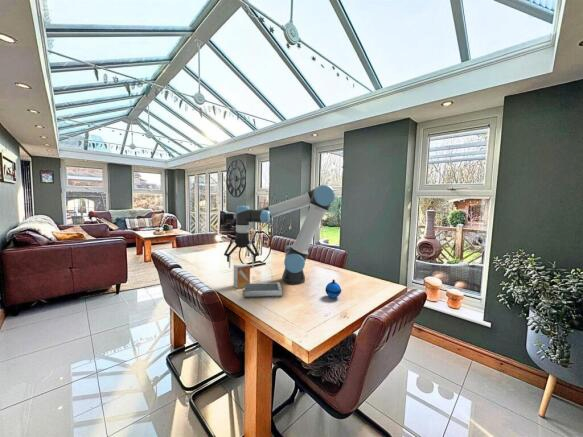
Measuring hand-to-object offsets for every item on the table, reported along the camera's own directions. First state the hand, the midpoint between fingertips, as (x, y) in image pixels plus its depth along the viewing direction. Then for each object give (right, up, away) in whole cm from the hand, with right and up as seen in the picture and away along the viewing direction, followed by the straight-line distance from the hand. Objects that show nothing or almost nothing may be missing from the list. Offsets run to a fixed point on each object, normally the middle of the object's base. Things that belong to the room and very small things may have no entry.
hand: (241, 267), depth 148 cm
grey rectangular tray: (+14, -13, -9) cm, 21 cm away
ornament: (+53, -15, -11) cm, 56 cm away
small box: (0, -12, +1) cm, 12 cm away
